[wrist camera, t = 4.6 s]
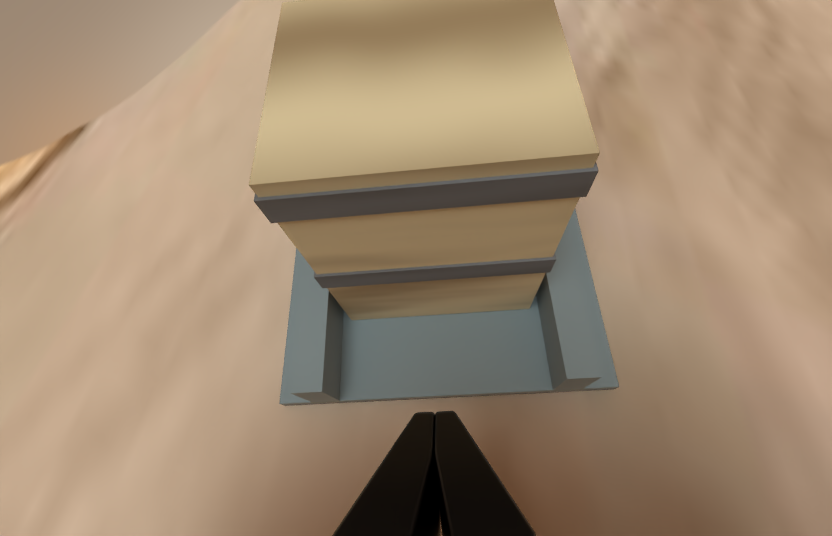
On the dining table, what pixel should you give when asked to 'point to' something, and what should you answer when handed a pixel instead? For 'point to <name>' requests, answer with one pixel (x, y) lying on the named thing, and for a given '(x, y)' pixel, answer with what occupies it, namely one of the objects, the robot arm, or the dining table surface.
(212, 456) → the dining table surface
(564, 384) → the bay
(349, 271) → the crate
